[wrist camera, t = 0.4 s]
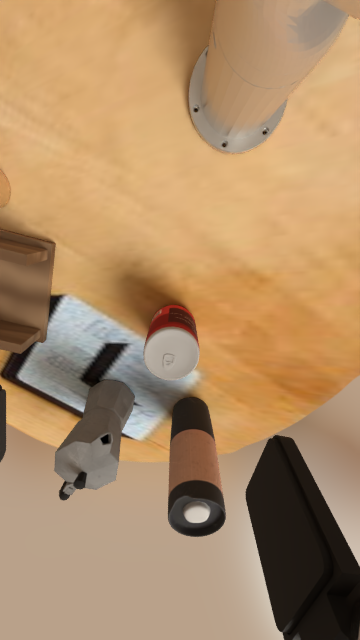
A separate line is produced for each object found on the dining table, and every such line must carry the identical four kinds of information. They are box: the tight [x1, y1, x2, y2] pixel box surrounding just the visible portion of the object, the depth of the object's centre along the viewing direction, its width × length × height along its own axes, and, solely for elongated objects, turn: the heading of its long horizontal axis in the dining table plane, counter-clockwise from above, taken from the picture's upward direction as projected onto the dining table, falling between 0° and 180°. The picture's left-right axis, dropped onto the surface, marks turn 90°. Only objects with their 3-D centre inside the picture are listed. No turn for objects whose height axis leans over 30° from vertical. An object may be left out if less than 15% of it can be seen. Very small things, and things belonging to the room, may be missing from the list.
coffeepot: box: [54, 380, 135, 500], centre depth 43 cm, size 15×9×18 cm, turn 146°
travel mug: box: [168, 397, 226, 537], centre depth 43 cm, size 8×8×20 cm
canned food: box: [143, 305, 199, 380], centre depth 41 cm, size 8×8×11 cm
